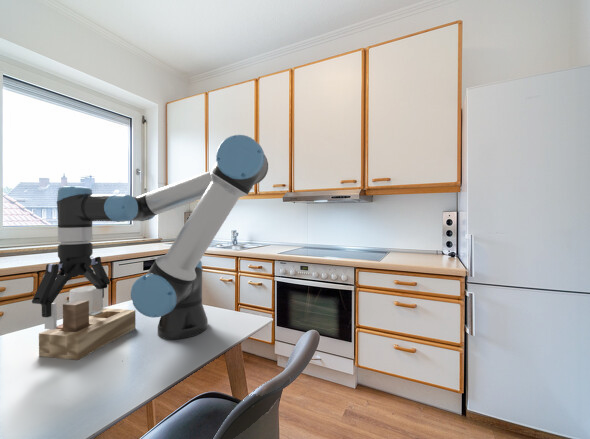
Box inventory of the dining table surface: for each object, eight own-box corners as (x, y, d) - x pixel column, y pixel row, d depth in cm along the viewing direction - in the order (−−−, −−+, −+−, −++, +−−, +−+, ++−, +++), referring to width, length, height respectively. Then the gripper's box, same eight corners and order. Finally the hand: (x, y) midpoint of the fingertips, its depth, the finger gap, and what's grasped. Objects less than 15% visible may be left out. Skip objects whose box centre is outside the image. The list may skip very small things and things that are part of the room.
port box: (135, 328, 90) (135, 309, 89) (77, 359, 70) (77, 335, 70) (103, 325, 91) (103, 307, 91) (39, 356, 72) (38, 332, 72)
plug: (89, 342, 77) (88, 300, 77) (75, 349, 73) (75, 305, 73) (77, 341, 78) (76, 299, 78) (63, 348, 74) (62, 304, 74)
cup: (84, 329, 88) (84, 293, 88) (62, 327, 90) (61, 291, 90) (108, 319, 97) (108, 286, 97) (87, 317, 99) (87, 284, 99)
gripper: (102, 238, 88) (103, 303, 88) (10, 247, 64) (11, 337, 64) (122, 239, 87) (123, 304, 87) (37, 248, 62) (38, 339, 63)
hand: (76, 318), depth 76 cm, fingers open, 13 cm apart
